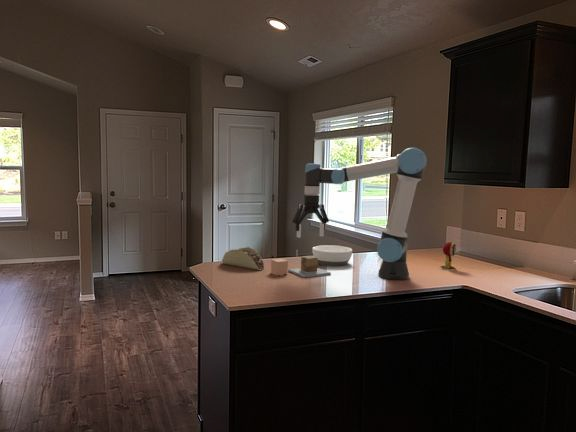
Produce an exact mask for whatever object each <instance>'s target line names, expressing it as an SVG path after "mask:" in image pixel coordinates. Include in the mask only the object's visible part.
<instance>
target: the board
mask: <svg viewBox="0 0 576 432" xmlns="http://www.w3.org/2000/svg"><path fill="white" fill-rule="evenodd" d="M288 271H289V273H291V272H292V273H291V274H293V273H294V275H296V274H297V275H296V276H298V275H299V276H298V277H300V276H301V277H300V278H303V277H304V279H306V278H305V277H307V278H313V277H314V276H317V277H325V275H327V276H331V275H332V272H329V271H328V270H324V269H322V268H318V267H317V271H316V272H305V271H302V270H301V267H300V268H299V267H298V268H288V270H287V272H288ZM314 278H315V277H314Z"/></svg>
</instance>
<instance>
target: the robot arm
mask: <svg viewBox="0 0 576 432" xmlns="http://www.w3.org/2000/svg"><path fill="white" fill-rule="evenodd" d="M427 165H428V156H427V154H426V152H425V151H423V150H422V149H420V148H418V147H409V148H406V149H403V151H402V152H401V153H398V154H397V155H396V156H392V157H388V158H384V159H379V160H374V161H373V160H372V161H369V162H365V163H359V164H358V163H357V164H354V165H349V166H343V167H339V168H337V167H336V168H334V167H329V168H328V167H325V168H324V167H321V164H320V163H306V165H305V167H304V168H305V170H304V196H303V201H304V204H301V203H299V204H298V207H297V210H296V212H295V214H294V217H293V219H292V222H291V223H292V224H295V231H296V238H299V239H300V238H301V237H302V224H301V223H302V222H303V220H304V219H305V217H306V216H307V215H309V214H315V215H316V217H317V218H318V220H319V221H320V223H319V235H318V236H319V237H325V236H324V234H325V230H326V224H327V223H329V222H330V221H329V220H330V219H329V217H328V215H327V213H326V209H325V204H324V203H320V192H321V191H320V189H321V187H320V185H321V184H328V185H329V184H333V185H341V184H344V183H346V182H351V181H358V180H361V179H368V178H373V177H378V176H379V177H380V176H385V175H391V174H395V173H396V177H397V178H398V181H397V184H396V188H395V193H394V196H393V200H392V201H393V202H392V205H391V209H390V213H389V218H388V221H387V225H386V228H384V229H383V230H382V232H381V236H380V239H379V240H380V241H379V242H378V244H377V246H376V252H377V254H378V256H379V258H380V259H381V260H382V261H381V264H380V268H379V269H378V273H377V275H378V277H380V278H382V279H385V280H392V281H394V280H395V281H401V280H402V281H404V280H408V279H409V278H410V272H409V268H408V265H407V253H408V240H409V238H408V235H409V234H408V233H407V232H406V228H407V225H408V221H409V217H410V213H411V209H412V205H413V200H414V197H415V193H416V189H417V184H418V182H419V183H420V181H422V179H423V175H424V172H425V171H424V170H425V168H426V167H427Z"/></svg>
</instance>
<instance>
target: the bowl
mask: <svg viewBox="0 0 576 432" xmlns="http://www.w3.org/2000/svg"><path fill="white" fill-rule="evenodd" d="M352 255H353V249H352V248H351V247H348V246H341V245H334V244H333V245H332V244H331V245H330V244H329V245H328V244H327V245H326V244H325V245H317V246H313V247H312V256H314V257H317V258H318V263H317V265H321V266H325V267H344V266H347V265H348V263H349V261H350V260H351V258H352Z"/></svg>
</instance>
